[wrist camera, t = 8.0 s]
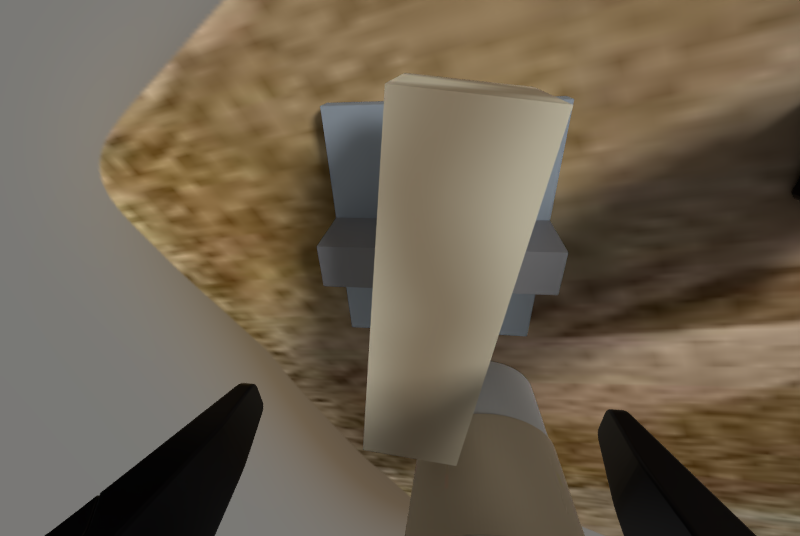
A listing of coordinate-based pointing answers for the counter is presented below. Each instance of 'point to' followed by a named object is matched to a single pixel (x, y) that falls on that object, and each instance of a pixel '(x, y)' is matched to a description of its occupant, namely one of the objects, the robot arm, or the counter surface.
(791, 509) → the counter surface
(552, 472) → the coffee cup
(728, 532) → the robot arm
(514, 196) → the ash bar
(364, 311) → the ridge stand
